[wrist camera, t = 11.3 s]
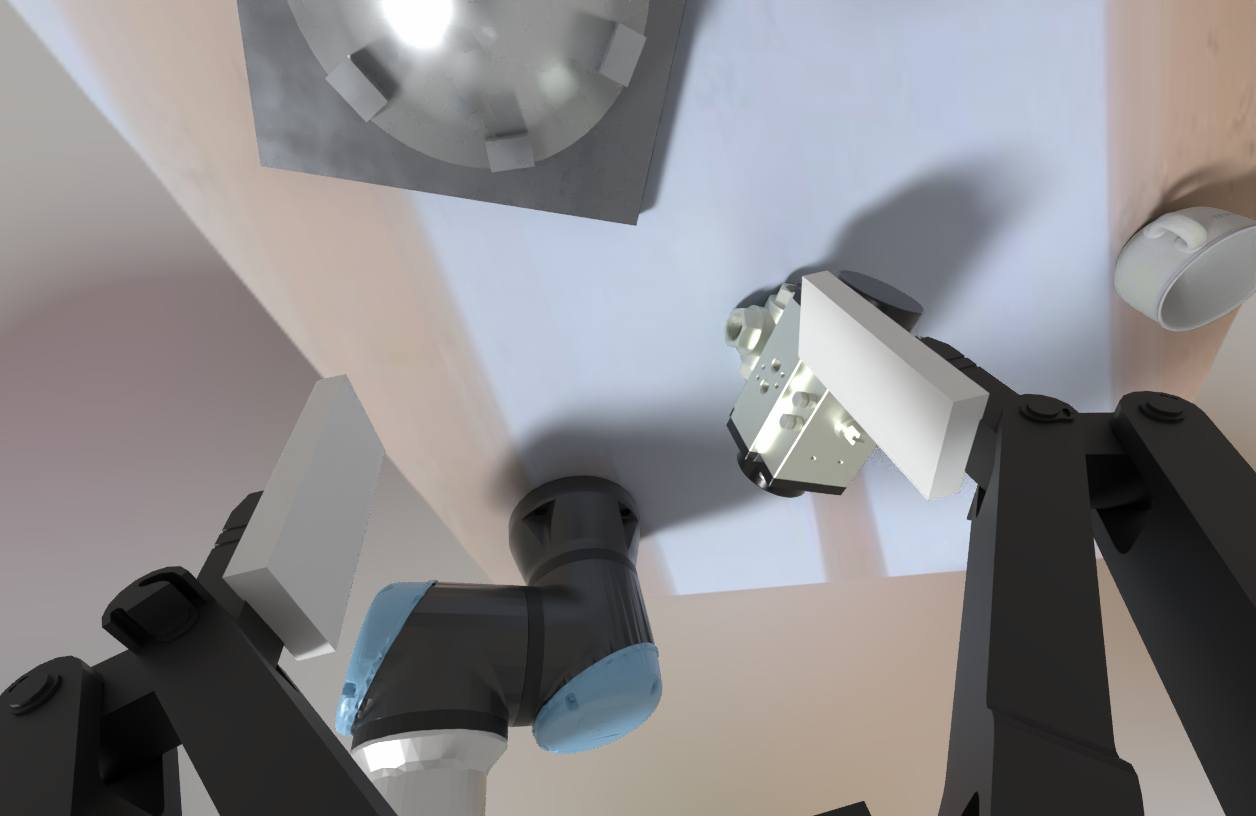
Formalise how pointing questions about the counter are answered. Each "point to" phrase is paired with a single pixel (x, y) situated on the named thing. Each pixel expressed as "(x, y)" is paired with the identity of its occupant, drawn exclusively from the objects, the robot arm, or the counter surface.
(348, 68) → the silver tabbed disc
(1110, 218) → the counter surface
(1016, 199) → the counter surface
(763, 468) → the ball valve
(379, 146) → the base plate
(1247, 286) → the teacup
